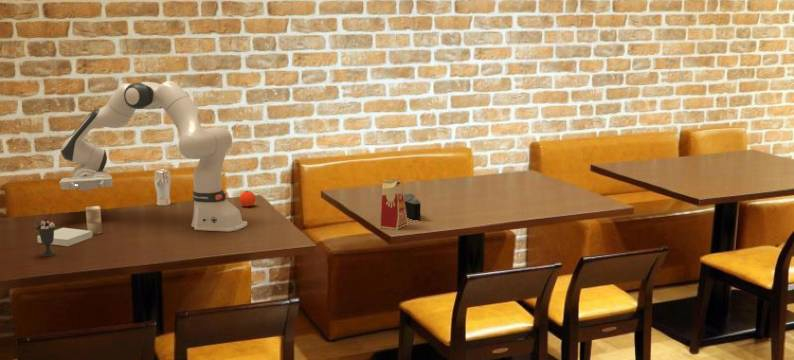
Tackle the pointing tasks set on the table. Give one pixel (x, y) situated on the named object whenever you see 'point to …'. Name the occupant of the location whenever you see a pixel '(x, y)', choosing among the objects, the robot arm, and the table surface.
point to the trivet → (69, 236)
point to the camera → (412, 206)
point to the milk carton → (393, 205)
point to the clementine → (247, 198)
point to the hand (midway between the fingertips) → (88, 186)
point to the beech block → (94, 219)
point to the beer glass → (162, 186)
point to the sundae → (47, 234)
